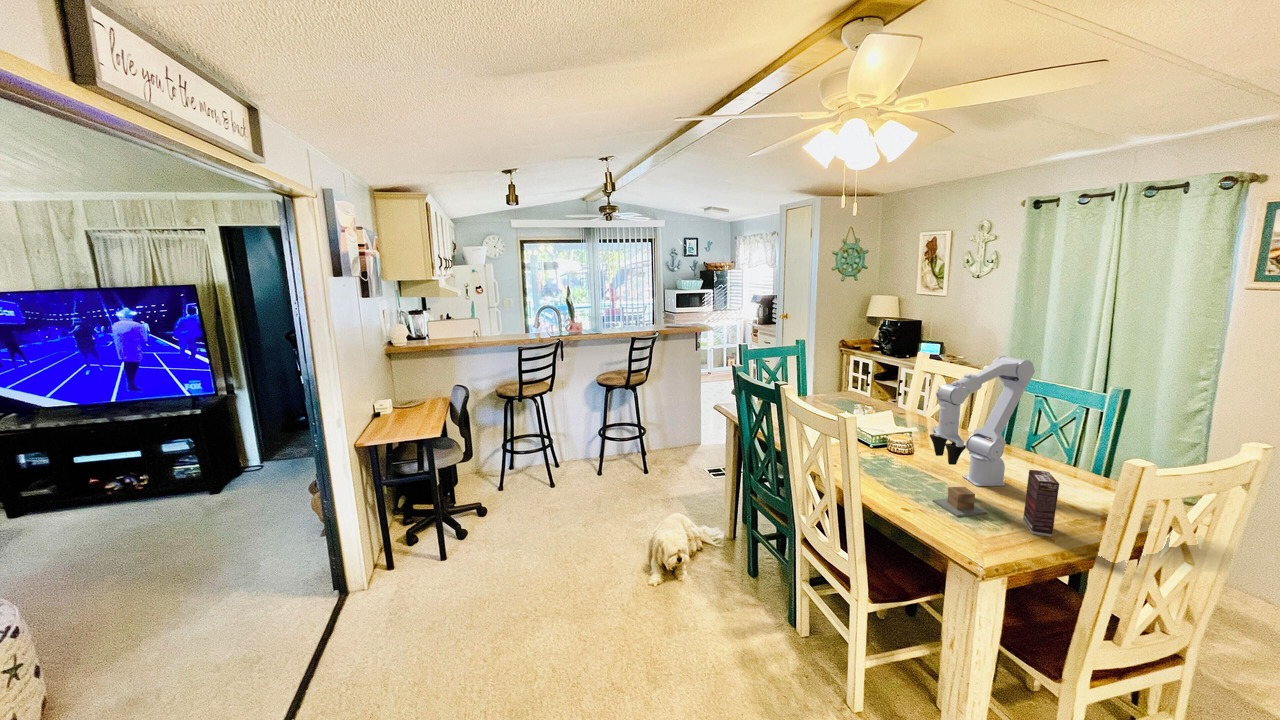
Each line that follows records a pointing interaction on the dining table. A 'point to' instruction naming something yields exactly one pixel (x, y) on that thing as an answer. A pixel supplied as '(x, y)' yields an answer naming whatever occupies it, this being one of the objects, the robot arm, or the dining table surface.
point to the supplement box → (1040, 502)
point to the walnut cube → (961, 498)
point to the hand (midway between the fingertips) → (945, 459)
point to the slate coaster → (961, 512)
